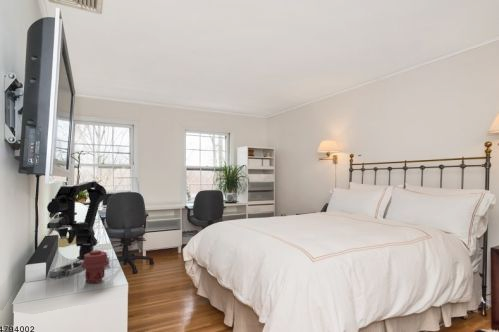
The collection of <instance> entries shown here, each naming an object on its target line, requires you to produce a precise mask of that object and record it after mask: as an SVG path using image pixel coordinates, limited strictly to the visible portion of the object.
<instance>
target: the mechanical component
mask: <svg viewBox="0 0 499 332" xmlns="http://www.w3.org/2000/svg"><path fill="white" fill-rule="evenodd" d="M107 255H108V254H107V251H102V250H100V249H95V250H93V251H91V252H90V253H87V254H85V255H84V259H83V261H84V262H82V264H81V267H82V268H84V270H85V274H84V275H85V276H84V277H85V283H91V284H92V283H93V284H100V281H101V280H102V279H103V278H104V277H105V269H106V268H105V267H108V266H107V265H108V264H109V265H110V259H109V260H108V259H107Z"/></svg>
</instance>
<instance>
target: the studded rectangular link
mask: <svg viewBox="0 0 499 332" xmlns="http://www.w3.org/2000/svg"><path fill="white" fill-rule="evenodd" d="M82 262H84V259H82V260H78V261H75V262H73V263H68V264H65V265H61V266H59V267H57V268H53V269H52V270H50V271H49V278H54V279H60V278H61V277H62V278H63V277H65V276H68V275H69V276H72V275H74V274H76V273H79V272H81V271H84V270H85V269H84V268H82V267H81V264H82Z"/></svg>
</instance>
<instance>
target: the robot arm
mask: <svg viewBox="0 0 499 332" xmlns="http://www.w3.org/2000/svg"><path fill="white" fill-rule="evenodd" d="M85 191H86V193H87V194H88V196H87V197H88V200H89V204H88V207H87V211H86V214H85V218H84V221H83V222H81V221H80V222H78V221H77V220H76V218H75V216H76V215H78V213H77V212H76V202H78V199H77V198H76V197H78V196H79V195H80V193H82V192H85ZM106 195H107V189H106V188H105V187H104V186H103V185H101V184H100V183H98V182H97V181H96V180H86V181H84V182H80V183H76V184H74V185H73V184H71V185H69V184H68V185H67V184H66V185H65V184H64V185H61V186H60V187H59V189H58V191H57V192H56V195H55V197H53V198H51V201H50V202H48V204H47V206H46V209H47V211H48V213H50V214H52V215H53V214H58V215H57V217H55V218H54V219H52V220H50V221H49V222H48V223H47V224H46V229H53V231H54V232H55V231H56V232H57V233H58V235H59V238H62V236H65V237H66V236H69V244H71V243H72V242H73V240H74V238H75V236H76V244H75V245H76V247H79V251H78V255H79V256H77V257H76V258H77V259H82V260H84V255H85V254H87V253H90V252H91V251H94V247H95V246H96V245H97V244H98V239H97V238H96V237H95V235H96V234H95V230H94V226H95V225H94V224H95V221H96V218H97V214H98V211H99V207H100V204H101V203H102V202H103V200H104V199H105V197H106Z"/></svg>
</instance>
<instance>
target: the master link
mask: <svg viewBox="0 0 499 332" xmlns="http://www.w3.org/2000/svg"><path fill="white" fill-rule="evenodd" d="M74 245H76V236H75V238H74V240H73V242H72V243H71V244H69V235H67V236H66V237H65V236H62V238H60V237H59V238H57V248H66V247H70V246H74Z"/></svg>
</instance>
